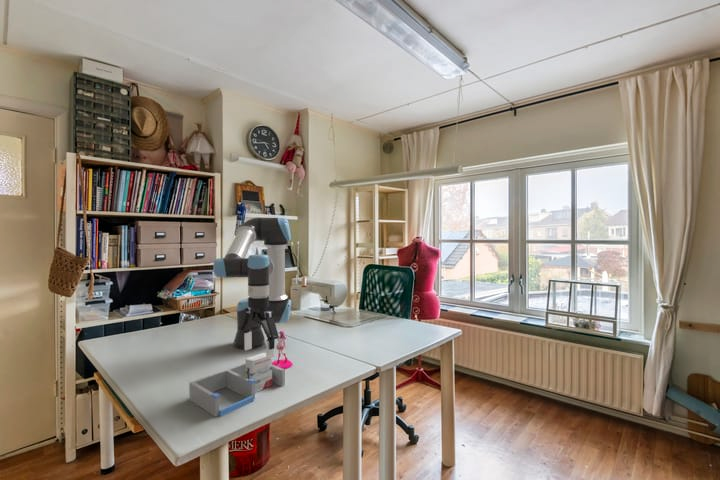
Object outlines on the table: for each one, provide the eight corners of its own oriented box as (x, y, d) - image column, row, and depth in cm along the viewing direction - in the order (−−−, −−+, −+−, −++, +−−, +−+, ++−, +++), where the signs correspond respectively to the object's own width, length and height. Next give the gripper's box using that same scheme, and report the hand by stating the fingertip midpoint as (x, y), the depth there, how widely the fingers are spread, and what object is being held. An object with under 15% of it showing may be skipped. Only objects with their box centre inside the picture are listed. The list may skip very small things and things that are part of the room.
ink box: (265, 381, 131) (264, 351, 131) (272, 385, 128) (272, 354, 128) (245, 389, 125) (244, 358, 125) (252, 393, 122) (252, 361, 121)
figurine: (268, 362, 150) (268, 329, 149) (290, 359, 154) (290, 326, 153) (271, 371, 141) (271, 335, 140) (294, 367, 145) (294, 332, 144)
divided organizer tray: (189, 399, 117) (189, 380, 117) (257, 373, 139) (257, 357, 139) (216, 418, 106) (216, 397, 106) (286, 385, 128) (286, 368, 128)
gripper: (230, 293, 130) (230, 348, 131) (271, 302, 115) (271, 364, 115) (247, 291, 136) (248, 343, 136) (288, 299, 121) (288, 358, 121)
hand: (258, 353), depth 126 cm, fingers open, 13 cm apart
